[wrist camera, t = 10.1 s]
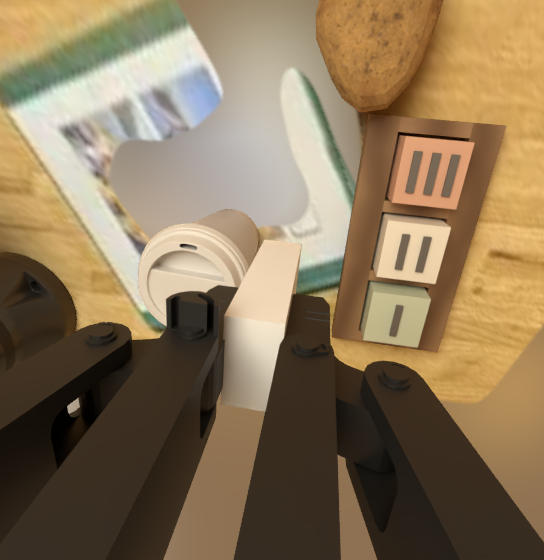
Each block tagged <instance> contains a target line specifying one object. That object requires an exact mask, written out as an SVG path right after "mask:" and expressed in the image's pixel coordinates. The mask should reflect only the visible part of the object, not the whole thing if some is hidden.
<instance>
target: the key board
mask: <svg viewBox="0 0 544 560" xmlns="http://www.w3.org/2000/svg"><path fill="white" fill-rule="evenodd" d="M505 129H506V126H503V125H492V124H480V123H469V122H458V121H446V120H435V119H424V118H412V117H401V116H390V115H378V114H368V118H367V124H366V130H365V136H364V142H363V148H362V153H361V159H360V165H359V171H358V177H357V183H356V189H355V195H354V201H353V207H352V213H351V219H350V224H349V230H348V236H347V242H346V248H345V254H344V260H343V266H342V272H341V278H340V284H339V289H338V295H337V301H336V307H335V313H334V319H333V325H332V337H334V338H341V339H348V340H355V341H362V342H369V343H376V344H383V345H390V346H397V347H405V348H412V349H419V350H426V351H433V352H438V349H439V345H440V342H441V339H442V335H443V332H444V329H445V326H446V322H447V319H448V316H449V312H450V309H451V306H452V303H453V299H454V296H455V293H456V289H457V286H458V283H459V280H460V276H461V273H462V270H463V266H464V263H465V260H466V257H467V253H468V250H469V247H470V243H471V240H472V237H473V234H474V230H475V227H476V224H477V221H478V217H479V214H480V211H481V207H482V204H483V201H484V198H485V194H486V191H487V188H488V184H489V181H490V178H491V175H492V171H493V168H494V165H495V161H496V158H497V155H498V152H499V148H500V145H501V142H502V138H503V135H504V132H505ZM398 132H406V133H417V134H428V135H439V136H450V137H461V138H462V141H465V142H473V143H475V144H474V147H473V151H472V154H471V158H470V162H469V165H468V169H467V172H466V176H465V180H464V183H463V187H462V190H461V194H460V198H459V201H458V205H457V208H456V210H455V209H446V208H437V207H428V206H418V205H409V204H400V203H392V202H391V201H390V200H389V199H388V198H385V195H386V190H387V185H388V180H389V175H390V170H391V165H392V160H393V155H394V151H395V146H396V141H397V136H398ZM382 212H390V213H399V214H408V215H417V216H426V217H435V218H441V220H443V221H444V222H445V223H446V224H447V225H449V226H450V227H451V230H450V234H449V237H448V241H447V244H446V248H445V251H444V255H443V259H442V262H441V266H440V269H439V273H438V277H437V280H436V284H430V283H423V282H415V281H407V280H399V279H391V278H383V277H376V274H375V271H374V268H373V265H372V260H373V255H374V250H375V245H376V240H377V235H378V230H379V225H380V220H381V215H382ZM368 280H372V281H380V282H388V283H396V284H404V285H412V286H419V287H424V288H425V290H426V292H427V293H428V295H429V297H430V298H431V301H430V305H429V309H428V312H427V316H426V319H425V323H424V327H423V330H422V334H421V337H420V341H419V345H418V348H416V347H409V346H402V345H395V344H388V343H381V342H374V341H366V340H363V336H362V331H361V325H360V319H361V314H362V309H363V304H364V300H365V295H366V290H367V285H368Z"/></svg>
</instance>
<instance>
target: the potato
mask: <svg viewBox="0 0 544 560" xmlns="http://www.w3.org/2000/svg"><path fill="white" fill-rule="evenodd" d="M442 1H443V0H319V4H318V8H317V12H316V40H317V42H318V45H319V48H320V50H321V53H322V56H323V58H324V61H325V64H326V66H327V69H328V71H329V74H330V76H331V79H332V81H333V83H334V84H335V86H336V88H337V90H338V92H339V93H340V95H341V97H342V98H343V99H344V100H345V101H347V103H349V104H350V105H351V106H353V107H354V108H355V109H356V110H358V111H359V112H367V111H374V110H381V109H386V108H387V107H388V106H389V105H390V104H391V103H392V102H393V101H394V100H395V99H396V98H397V97H398V96H399V95H400V94H401V93H402V92H403V91H404V90H405V89H406V88H407V87H408V86H409V84H410V82H411V81H412V79H413V77H414V75H415V73H416V72H417V70H418V68H419V66H420V64H421V62H422V60H423V58H424V55H425V52H426V50H427V47H428V45H429V42H430V40H431V37H432V35H433V32H434V29H435V26H436V23H437V20H438V17H439V14H440V10H441V6H442Z"/></svg>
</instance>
